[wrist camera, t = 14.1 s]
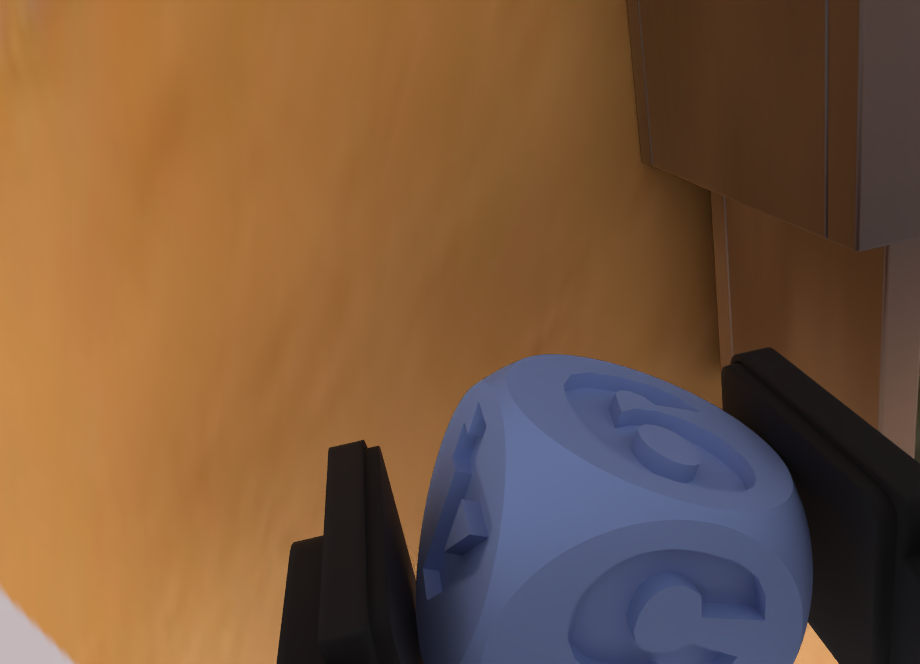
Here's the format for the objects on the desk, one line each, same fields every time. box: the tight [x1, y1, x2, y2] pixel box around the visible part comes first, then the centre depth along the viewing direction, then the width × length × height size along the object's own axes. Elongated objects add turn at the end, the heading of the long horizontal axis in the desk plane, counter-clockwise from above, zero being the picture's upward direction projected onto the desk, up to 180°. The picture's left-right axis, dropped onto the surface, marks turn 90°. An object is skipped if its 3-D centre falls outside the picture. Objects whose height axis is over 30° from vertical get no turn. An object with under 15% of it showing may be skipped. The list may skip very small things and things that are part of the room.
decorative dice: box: [416, 354, 813, 664], centre depth 10 cm, size 4×4×4 cm
